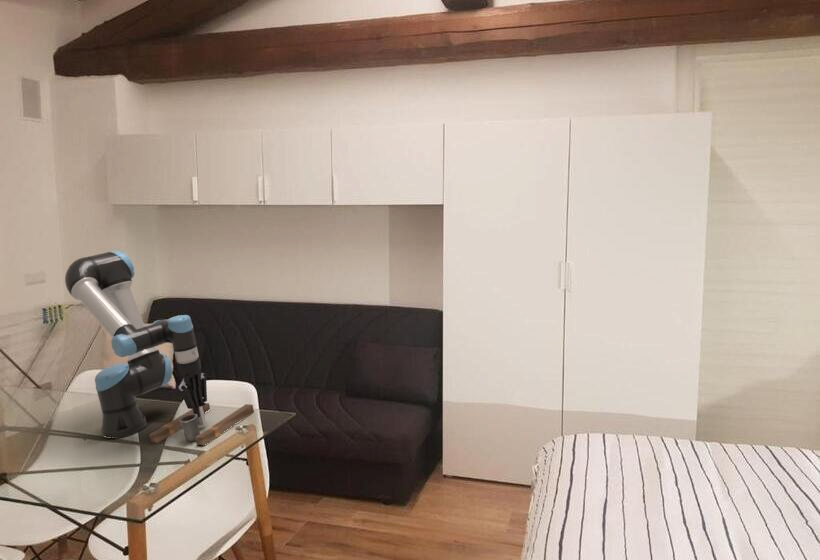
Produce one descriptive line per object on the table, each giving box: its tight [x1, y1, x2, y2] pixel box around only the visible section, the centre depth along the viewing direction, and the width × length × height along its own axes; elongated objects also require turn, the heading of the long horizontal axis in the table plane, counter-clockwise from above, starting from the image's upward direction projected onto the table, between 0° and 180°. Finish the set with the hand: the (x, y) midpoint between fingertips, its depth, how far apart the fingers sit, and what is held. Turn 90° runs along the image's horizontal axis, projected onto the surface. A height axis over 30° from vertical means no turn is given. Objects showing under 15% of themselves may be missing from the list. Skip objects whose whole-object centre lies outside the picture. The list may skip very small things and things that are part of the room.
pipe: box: [179, 414, 201, 442], centre depth 224 cm, size 6×13×8 cm, turn 13°
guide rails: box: [149, 402, 255, 446], centre depth 232 cm, size 23×27×3 cm
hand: (201, 424), depth 231 cm, fingers closed
